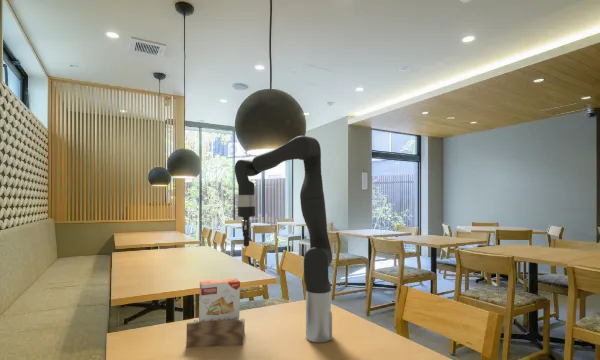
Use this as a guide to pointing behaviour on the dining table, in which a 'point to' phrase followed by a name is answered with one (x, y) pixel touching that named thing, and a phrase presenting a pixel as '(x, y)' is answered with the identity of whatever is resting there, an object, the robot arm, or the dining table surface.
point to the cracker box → (219, 300)
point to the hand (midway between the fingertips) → (246, 245)
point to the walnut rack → (215, 333)
